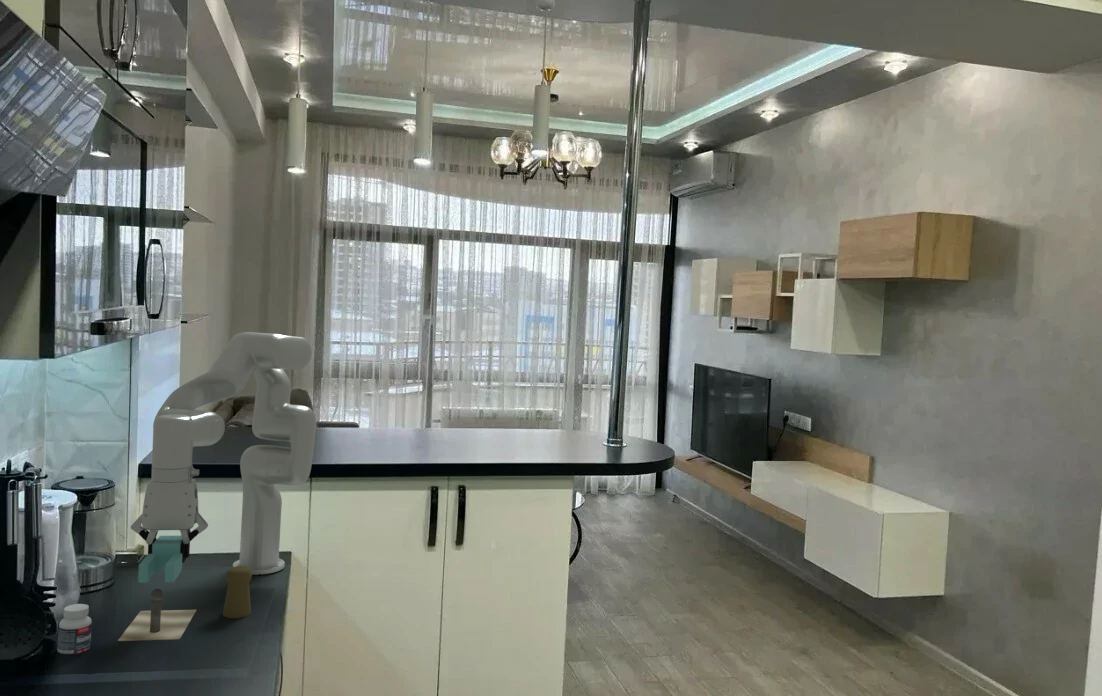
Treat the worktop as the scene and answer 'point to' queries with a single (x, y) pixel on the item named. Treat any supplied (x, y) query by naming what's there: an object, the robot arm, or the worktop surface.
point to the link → (162, 559)
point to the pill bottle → (74, 630)
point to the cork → (237, 592)
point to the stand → (158, 622)
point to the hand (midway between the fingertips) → (168, 560)
